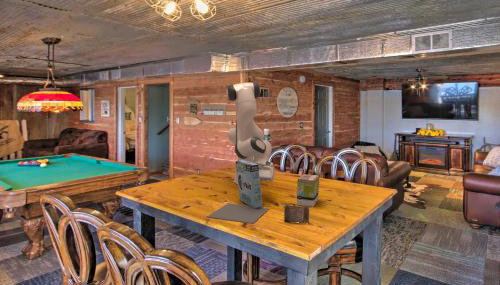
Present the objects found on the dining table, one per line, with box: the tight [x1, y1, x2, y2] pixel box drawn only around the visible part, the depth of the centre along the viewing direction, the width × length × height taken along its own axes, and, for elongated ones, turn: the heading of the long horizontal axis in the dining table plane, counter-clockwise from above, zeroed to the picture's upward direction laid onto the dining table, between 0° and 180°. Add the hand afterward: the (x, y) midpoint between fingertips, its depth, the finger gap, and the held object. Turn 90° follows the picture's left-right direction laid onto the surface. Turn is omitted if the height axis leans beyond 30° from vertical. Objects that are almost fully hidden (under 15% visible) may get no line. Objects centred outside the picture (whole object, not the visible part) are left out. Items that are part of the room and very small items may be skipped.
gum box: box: [235, 160, 263, 208], centre depth 179 cm, size 19×5×23 cm, turn 26°
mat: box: [206, 202, 270, 225], centre depth 166 cm, size 24×24×1 cm
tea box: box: [295, 173, 320, 207], centre depth 185 cm, size 15×10×15 cm
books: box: [283, 202, 311, 225], centre depth 153 cm, size 11×3×10 cm, turn 77°
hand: (253, 185), depth 183 cm, fingers closed
